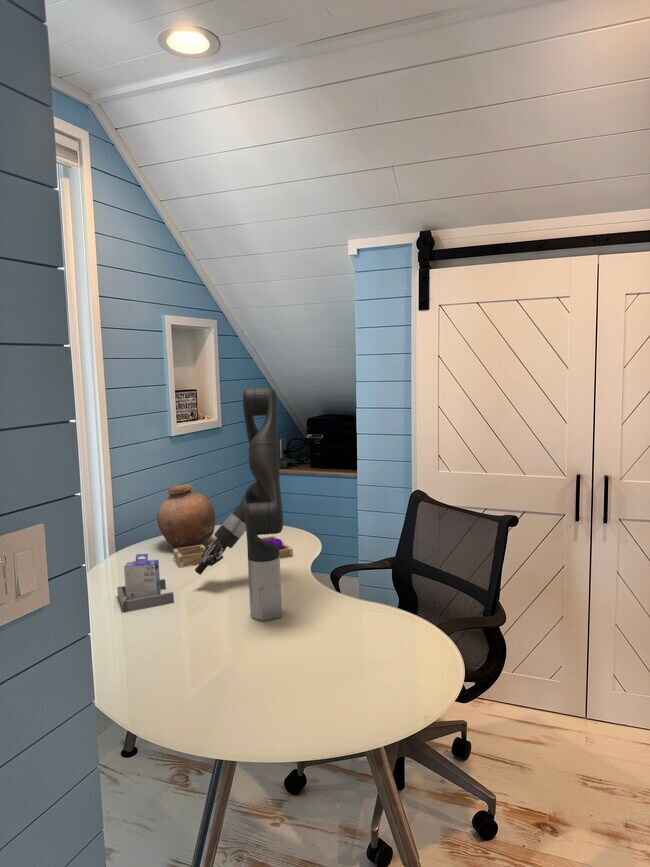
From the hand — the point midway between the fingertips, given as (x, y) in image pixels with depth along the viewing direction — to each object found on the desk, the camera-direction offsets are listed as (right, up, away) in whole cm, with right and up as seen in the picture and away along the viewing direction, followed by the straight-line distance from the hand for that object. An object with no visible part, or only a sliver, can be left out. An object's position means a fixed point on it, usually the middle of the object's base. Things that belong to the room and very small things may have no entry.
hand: (197, 572), depth 196 cm
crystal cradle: (+21, -1, +38) cm, 43 cm away
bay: (-15, -7, -7) cm, 18 cm away
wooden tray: (-8, -2, +30) cm, 31 cm away
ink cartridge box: (-15, -7, -7) cm, 18 cm away
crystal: (+20, -1, +39) cm, 44 cm away
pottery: (-14, -1, +49) cm, 51 cm away
